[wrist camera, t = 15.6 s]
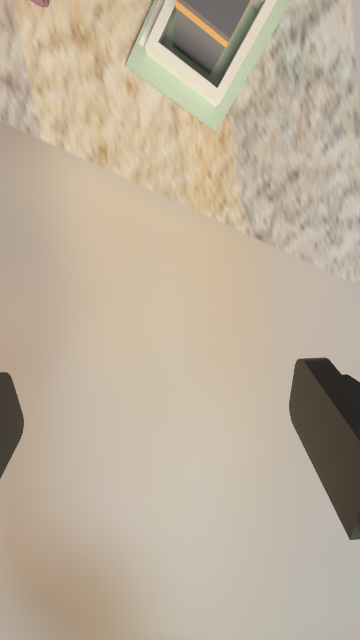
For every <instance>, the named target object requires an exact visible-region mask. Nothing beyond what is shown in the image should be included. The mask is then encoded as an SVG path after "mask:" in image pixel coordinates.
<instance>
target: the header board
mask: <svg viewBox="0 0 360 640" xmlns="http://www.w3.org/2000/svg"><path fill="white" fill-rule="evenodd" d="M291 1H292V0H251V2H250V3H249V5H248V7H247V9H246V11H245V13H244V15H243V17H242V19H241V21H240V23H239V24H238V26H237V28H236V30H235V32H234V34H233V36H232V38H231V40H230V42H229V44H228V45H227V47H226V48H225V49H224V51H223V53H222V54H221V56H220V58H219V60H218V61H217V63H216V65H215V67H214V68H213V70H212V72H211V74H209V73H208V72H206V71H205V70H204V69H202V68H201V67H200V66H199V65H197V64H196V63H195V62H193V61H192V60H191V59H189V58H188V57H187V56H185V55H184V54H183V53H182V52H180V51H179V50H178V49H176V48H175V47H174V46H173V38H174V27H175V17H176V7H175V6H176V0H154V2H153V4H152V6H151V8H150V11H149V13H148V15H147V17H146V20H145V22H144V24H143V27H142V29H141V31H140V33H139V36H138V38H137V40H136V42H135V45H134V47H133V49H132V51H131V54H130V56H129V58H128V60H127V63H126V67H127V68H128V69H130V70H131V71H133V72H134V73H135V74H137V75H138V76H139V77H141V78H142V79H143V80H145V81H146V82H148V83H149V84H150V85H152V86H153V87H154V88H156V89H157V90H158V91H160V92H161V93H162V94H164V95H165V96H167V97H168V98H169V99H171V100H172V101H173V102H175V103H176V104H177V105H179V106H180V107H181V108H183V109H184V110H186V111H187V112H188V113H190V114H191V115H192V116H194V117H195V118H196V119H198V120H199V121H201V122H202V123H203V124H205V125H206V126H207V127H209V128H210V129H211V130H213V131H214V132H216V131H217V129H218V128H219V126H220V124H221V122H222V121H223V119H224V117H225V116H226V114H227V112H228V110H229V109H230V107H231V105H232V103H233V102H234V100H235V98H236V96H237V95H238V93H239V91H240V89H241V88H242V86H243V84H244V82H245V81H246V79H247V77H248V75H249V74H250V72H251V70H252V69H253V67H254V65H255V63H256V62H257V60H258V58H259V56H260V55H261V53H262V51H263V49H264V48H265V46H266V44H267V42H268V41H269V39H270V37H271V35H272V34H273V32H274V30H275V29H276V27H277V25H278V23H279V22H280V20H281V18H282V16H283V15H284V13H285V11H286V9H287V8H288V6H289V4H290V2H291Z"/></svg>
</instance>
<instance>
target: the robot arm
mask: <svg viewBox="0 0 360 640" xmlns="http://www.w3.org/2000/svg"><path fill="white" fill-rule="evenodd" d="M289 409H290V416H291V420H292V423H293V425H294V428H295V429H296V431H297V434H298V436H299V437H300V440H301V442H302V444H303V446H304V448H305V450H306V452H307V454H308V456H309V458H310V460H311V462H312V464H313V466H314V468H315V470H316V472H317V474H318V476H319V478H320V480H321V482H322V484H323V486H324V488H325V490H326V492H327V494H328V496H329V498H330V500H331V502H332V504H333V506H334V508H335V511H336V512H337V515H338V517H339V519H340V521H341V523H342V525H343V527H344V529H345V531H346V533H347V535H348V537H349V539H350V540H355V539H360V382H358V381H357V380H355V379H354V378H352V377H351V376H349V375H341V374H340V372H339V371H338V370H337V369H336V368H335V366H334V365H333V364H332V363H331V361H330V360H329V359H327V358H307V359H298V360H297V362H296V364H295V369H294V376H293V382H292V389H291V395H290V402H289ZM23 427H24V419H23V414H22V410H21V407H20V404H19V401H18V397H17V394H16V391H15V387H14V384H13V381H12V378H11V376H10V375H9V374H8V373H6V372H2V373H0V478H1V476H2V474H3V472H4V470H5V468H6V466H7V464H8V462H9V460H10V459H11V457H12V454H13V453H14V450H15V448H16V447H17V444H18V443H19V441H20V439H21V436H22V433H23Z"/></svg>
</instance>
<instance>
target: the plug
mask: <svg viewBox="0 0 360 640" xmlns="http://www.w3.org/2000/svg"><path fill="white" fill-rule="evenodd" d="M250 2H251V0H176V6H175V7H176V17H175V27H174V38H173V46H174V47H175V48H176V49H178V50H179V51H180V52H182V53H183V54H184V55H185V56H187V57H188V58H189V59H191V60H192V61H193V62H195V63H196V64H197V65H199V66H200V67H201V68H202V69H204V70H205V71H206V72H208V73H209V74H211V72H212V70H213V68H214V67H215V65H216V63H217V61H218V60H219V58H220V56H221V54H222V53H223V51H224V49H225V48H226V47H227V45H228V44H229V42H230V40H231V38H232V36H233V34H234V32H235V30H236V28H237V26H238V24H239V23H240V21H241V19H242V17H243V15H244V13H245V11H246V9H247V7H248V5H249V3H250Z"/></svg>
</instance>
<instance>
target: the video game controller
mask: <svg viewBox="0 0 360 640" xmlns="http://www.w3.org/2000/svg"><path fill="white" fill-rule="evenodd" d="M31 1H33V2H34V3H35V4H37V5H39V6H42V7H48V5H49V1H48V0H31Z"/></svg>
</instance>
